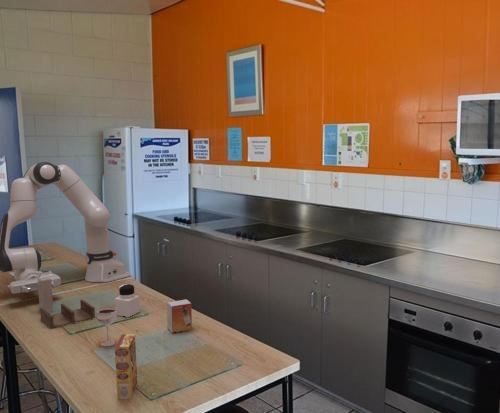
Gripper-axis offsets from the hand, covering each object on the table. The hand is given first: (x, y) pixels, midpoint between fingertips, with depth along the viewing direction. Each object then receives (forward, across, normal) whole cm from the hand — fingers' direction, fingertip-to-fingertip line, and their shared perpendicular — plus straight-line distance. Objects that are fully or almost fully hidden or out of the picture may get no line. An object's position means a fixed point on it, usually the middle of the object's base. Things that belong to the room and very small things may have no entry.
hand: (40, 288), depth 202 cm
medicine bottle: (+30, +25, +9) cm, 40 cm away
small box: (+58, +33, +9) cm, 67 cm away
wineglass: (+53, +7, +9) cm, 54 cm away
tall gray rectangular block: (+6, 0, +8) cm, 10 cm away
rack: (+20, +4, +8) cm, 23 cm away
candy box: (+88, -2, +9) cm, 88 cm away
